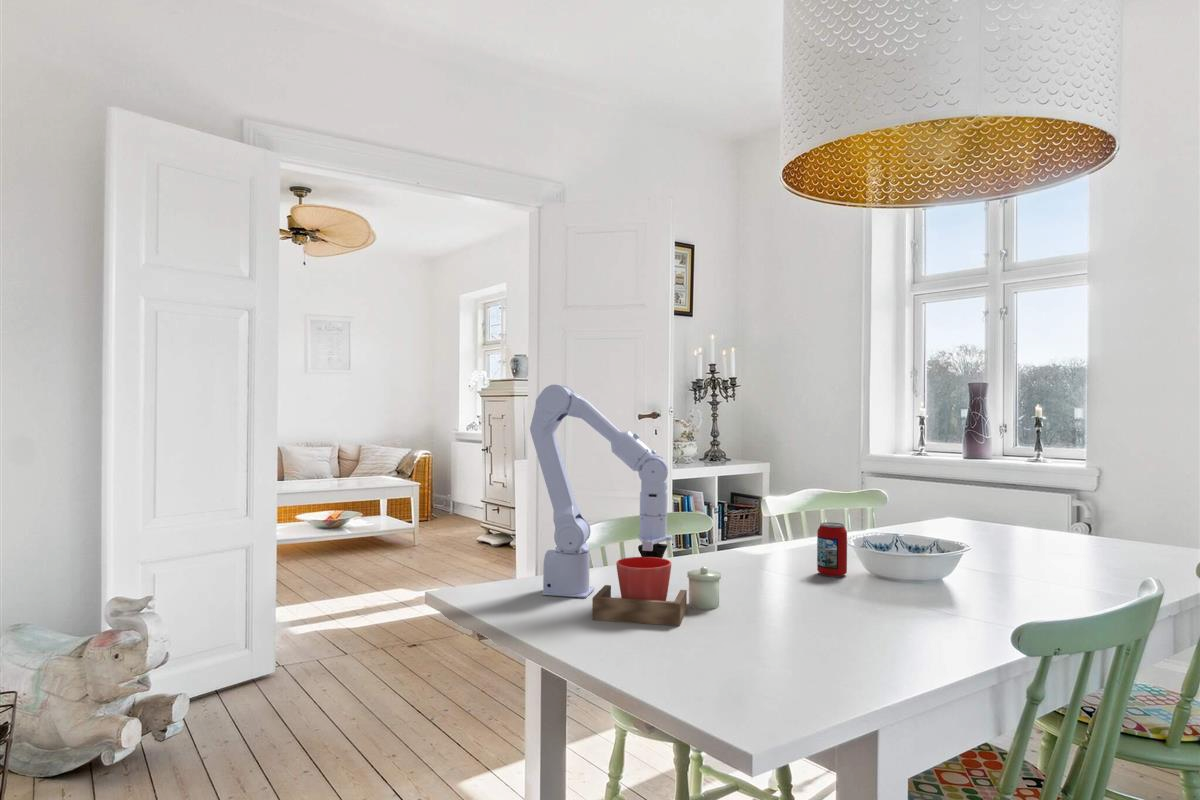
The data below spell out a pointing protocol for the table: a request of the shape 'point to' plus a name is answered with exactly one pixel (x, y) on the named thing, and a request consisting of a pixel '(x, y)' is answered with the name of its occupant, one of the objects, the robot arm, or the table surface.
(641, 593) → the flower pot
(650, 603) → the wooden tray
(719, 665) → the table surface
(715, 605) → the green jar
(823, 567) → the beverage can
